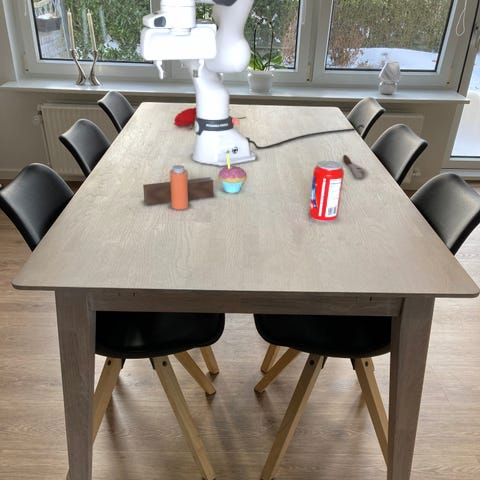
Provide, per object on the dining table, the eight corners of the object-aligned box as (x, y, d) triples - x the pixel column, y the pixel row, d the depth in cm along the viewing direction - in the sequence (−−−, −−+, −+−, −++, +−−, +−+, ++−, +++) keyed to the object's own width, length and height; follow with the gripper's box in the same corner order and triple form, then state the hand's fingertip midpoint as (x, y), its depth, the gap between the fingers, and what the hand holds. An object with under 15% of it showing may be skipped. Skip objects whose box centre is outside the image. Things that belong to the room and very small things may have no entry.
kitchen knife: (369, 177, 171) (354, 175, 171) (367, 182, 172) (353, 180, 172) (356, 155, 188) (342, 153, 188) (354, 160, 189) (341, 158, 189)
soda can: (329, 226, 139) (337, 171, 131) (303, 219, 143) (309, 164, 134) (341, 217, 145) (349, 163, 137) (315, 210, 148) (322, 157, 140)
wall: (209, 193, 156) (209, 177, 154) (213, 196, 154) (213, 180, 151) (144, 201, 149) (143, 184, 146) (147, 205, 147) (146, 188, 144)
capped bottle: (185, 202, 150) (184, 163, 144) (190, 208, 146) (189, 168, 140) (168, 204, 148) (167, 165, 142) (174, 210, 145) (172, 170, 138)
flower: (245, 99, 214) (171, 103, 213) (247, 115, 210) (172, 120, 209) (245, 116, 222) (174, 121, 221) (247, 132, 218) (174, 137, 217)
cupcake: (225, 196, 155) (226, 155, 148) (213, 187, 161) (213, 147, 154) (251, 192, 158) (252, 152, 151) (238, 183, 164) (239, 144, 157)
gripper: (211, 17, 139) (211, 74, 147) (136, 17, 132) (140, 77, 139) (221, 20, 134) (220, 78, 142) (143, 19, 127) (146, 81, 135)
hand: (180, 78), depth 141 cm, fingers open, 8 cm apart
